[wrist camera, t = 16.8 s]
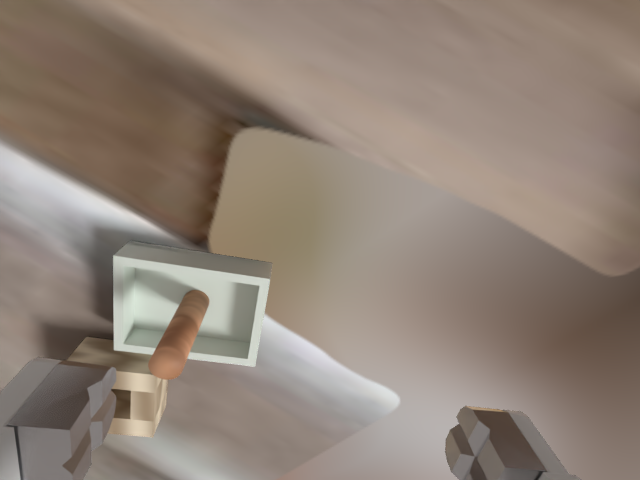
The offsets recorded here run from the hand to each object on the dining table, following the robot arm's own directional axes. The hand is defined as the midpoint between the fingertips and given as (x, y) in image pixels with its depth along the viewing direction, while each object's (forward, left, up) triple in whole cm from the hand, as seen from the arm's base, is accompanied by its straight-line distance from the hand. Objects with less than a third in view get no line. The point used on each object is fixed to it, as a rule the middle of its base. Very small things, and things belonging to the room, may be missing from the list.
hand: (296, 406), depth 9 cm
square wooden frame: (-17, -31, -32) cm, 48 cm away
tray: (-9, -18, -32) cm, 38 cm away
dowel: (-9, -18, -31) cm, 37 cm away
